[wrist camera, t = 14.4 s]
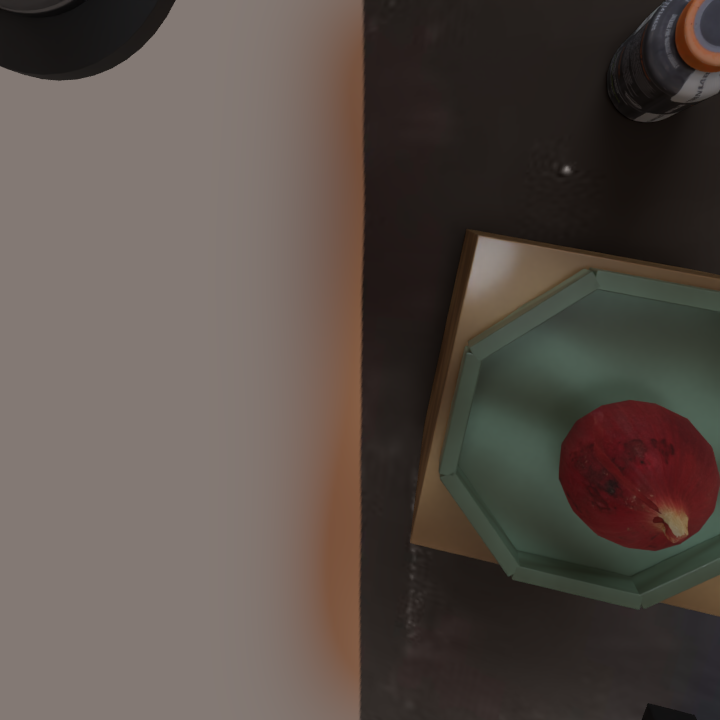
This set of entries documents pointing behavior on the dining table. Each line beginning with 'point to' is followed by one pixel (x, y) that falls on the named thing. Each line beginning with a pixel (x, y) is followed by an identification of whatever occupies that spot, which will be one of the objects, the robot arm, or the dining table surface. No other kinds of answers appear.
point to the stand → (563, 412)
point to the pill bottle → (668, 61)
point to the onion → (639, 475)
